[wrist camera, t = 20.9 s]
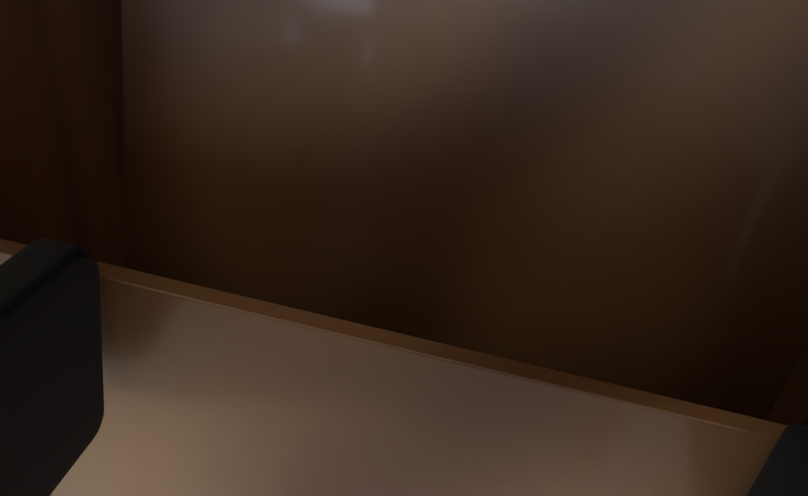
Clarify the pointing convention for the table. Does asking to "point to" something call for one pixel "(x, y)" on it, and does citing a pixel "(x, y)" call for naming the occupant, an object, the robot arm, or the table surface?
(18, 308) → the robot arm
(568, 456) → the flap
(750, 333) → the wooden box
